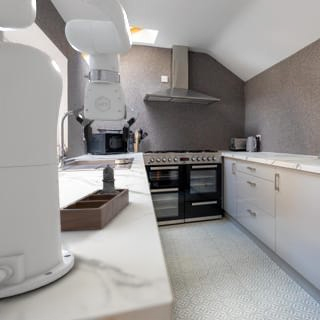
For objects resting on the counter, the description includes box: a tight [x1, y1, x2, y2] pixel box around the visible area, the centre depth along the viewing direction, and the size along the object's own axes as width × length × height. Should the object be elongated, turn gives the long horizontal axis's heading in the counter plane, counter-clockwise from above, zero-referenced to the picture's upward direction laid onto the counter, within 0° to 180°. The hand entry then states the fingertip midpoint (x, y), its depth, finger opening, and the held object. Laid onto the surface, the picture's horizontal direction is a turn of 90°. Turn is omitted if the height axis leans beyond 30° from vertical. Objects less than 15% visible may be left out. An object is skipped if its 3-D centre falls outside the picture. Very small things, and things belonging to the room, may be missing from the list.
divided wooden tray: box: [60, 188, 130, 232], centre depth 67 cm, size 25×9×4 cm, turn 10°
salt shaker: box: [98, 163, 120, 194], centre depth 75 cm, size 6×6×12 cm
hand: (107, 141), depth 74 cm, fingers open, 9 cm apart
